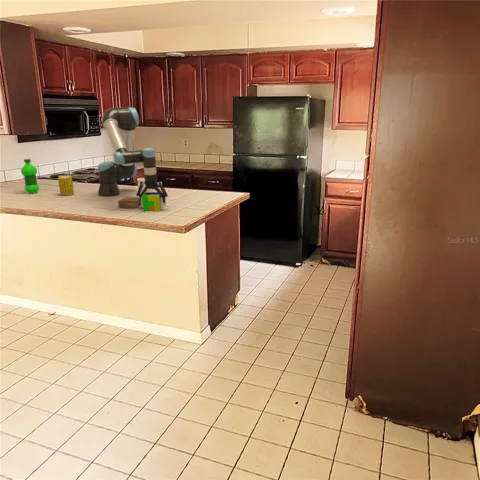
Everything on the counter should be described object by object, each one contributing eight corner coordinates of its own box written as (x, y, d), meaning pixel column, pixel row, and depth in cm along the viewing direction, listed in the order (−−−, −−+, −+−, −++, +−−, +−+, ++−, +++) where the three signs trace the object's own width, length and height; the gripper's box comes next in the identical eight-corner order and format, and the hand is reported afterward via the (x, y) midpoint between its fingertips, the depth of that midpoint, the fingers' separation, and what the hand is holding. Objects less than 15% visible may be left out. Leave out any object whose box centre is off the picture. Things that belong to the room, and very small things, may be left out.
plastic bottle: (36, 194, 313) (30, 160, 305) (22, 194, 313) (16, 160, 305) (42, 191, 322) (37, 158, 314) (29, 191, 323) (23, 158, 315)
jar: (138, 199, 295) (136, 177, 290) (152, 197, 298) (151, 176, 294) (140, 202, 286) (138, 180, 281) (155, 201, 289) (153, 179, 284)
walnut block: (126, 203, 284) (126, 196, 282) (143, 204, 282) (143, 197, 280) (118, 208, 273) (118, 200, 271) (136, 208, 270) (135, 201, 269)
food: (73, 194, 317) (73, 198, 308) (56, 192, 312) (56, 196, 304) (75, 175, 313) (76, 177, 304) (58, 172, 308) (58, 175, 299)
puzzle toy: (162, 207, 273) (161, 192, 269) (160, 211, 263) (158, 195, 260) (146, 207, 272) (145, 192, 269) (143, 211, 263) (142, 196, 260)
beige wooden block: (158, 204, 281) (158, 196, 279) (166, 204, 281) (165, 196, 279) (157, 206, 276) (157, 198, 274) (165, 205, 276) (164, 198, 275)
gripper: (128, 174, 260) (132, 208, 266) (167, 175, 254) (169, 209, 261) (134, 172, 266) (137, 205, 273) (171, 173, 261) (173, 206, 268)
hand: (153, 207), depth 267 cm, fingers open, 13 cm apart
